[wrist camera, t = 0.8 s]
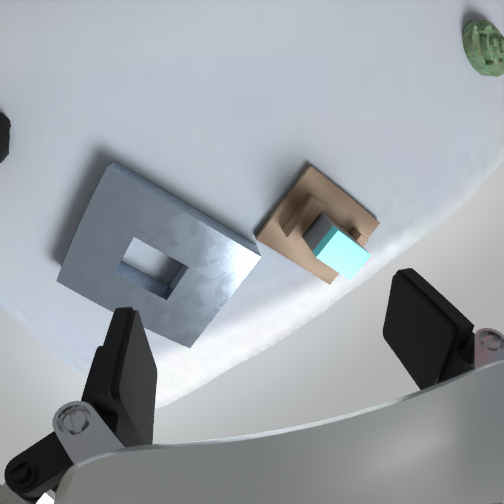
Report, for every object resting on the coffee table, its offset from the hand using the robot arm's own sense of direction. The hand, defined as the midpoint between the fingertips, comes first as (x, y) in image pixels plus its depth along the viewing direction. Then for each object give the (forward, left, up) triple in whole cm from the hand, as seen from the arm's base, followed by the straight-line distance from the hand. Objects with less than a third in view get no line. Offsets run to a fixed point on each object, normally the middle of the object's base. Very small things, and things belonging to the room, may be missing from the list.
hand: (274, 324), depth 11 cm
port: (+16, -1, -31) cm, 35 cm away
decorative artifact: (-43, +21, -32) cm, 58 cm away
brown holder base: (0, +17, -31) cm, 35 cm away
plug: (0, +17, -30) cm, 35 cm away
